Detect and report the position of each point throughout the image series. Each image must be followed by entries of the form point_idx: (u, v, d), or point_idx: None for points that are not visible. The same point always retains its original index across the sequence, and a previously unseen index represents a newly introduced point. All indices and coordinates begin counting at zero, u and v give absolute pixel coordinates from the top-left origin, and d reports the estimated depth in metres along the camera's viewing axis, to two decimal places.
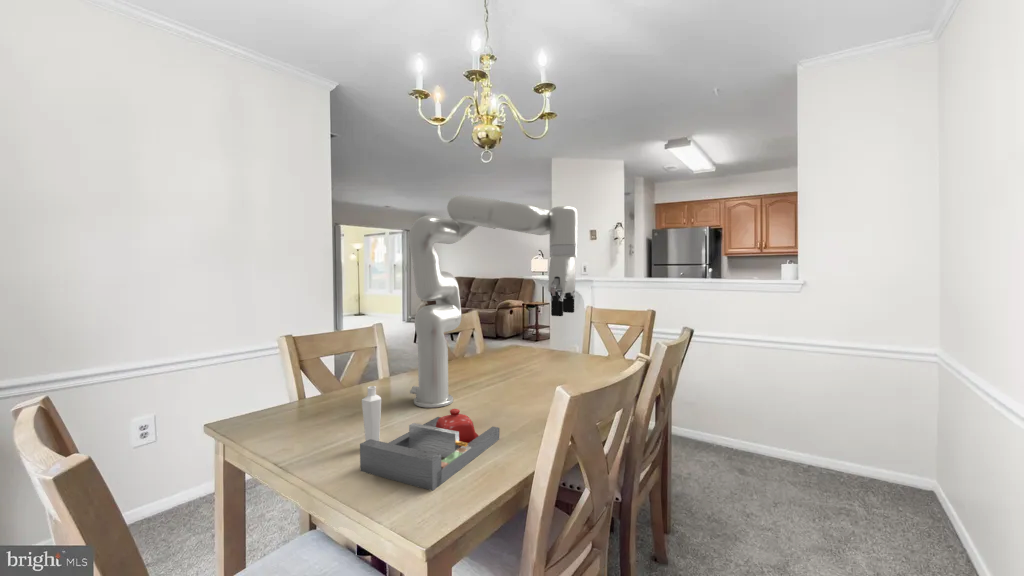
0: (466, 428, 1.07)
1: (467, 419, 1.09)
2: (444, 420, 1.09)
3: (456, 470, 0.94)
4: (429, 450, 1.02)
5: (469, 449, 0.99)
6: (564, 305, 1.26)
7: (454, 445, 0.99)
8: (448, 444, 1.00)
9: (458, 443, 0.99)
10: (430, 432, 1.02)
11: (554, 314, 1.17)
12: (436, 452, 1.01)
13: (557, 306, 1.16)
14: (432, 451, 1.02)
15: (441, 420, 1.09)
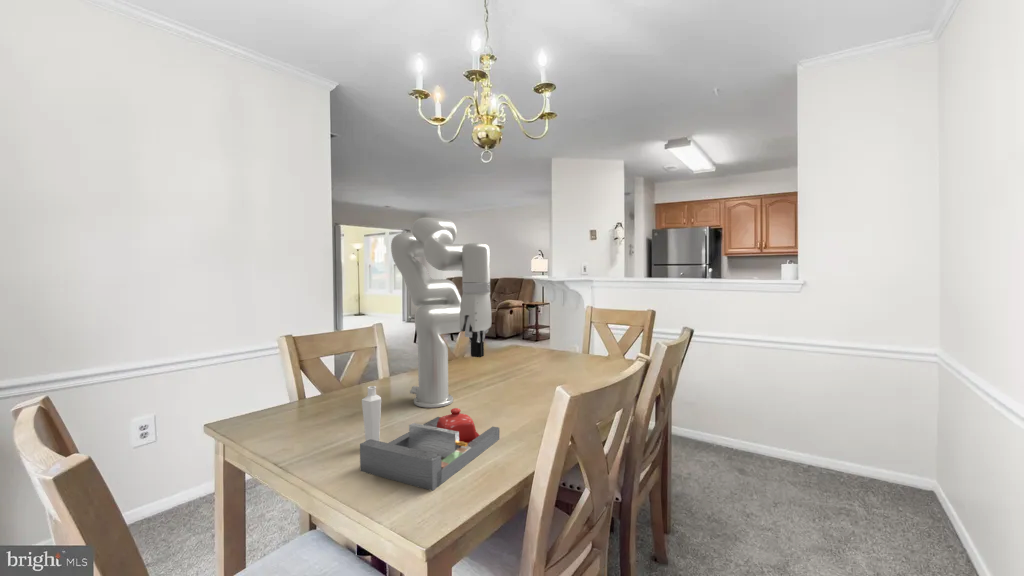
0: (467, 428, 1.08)
1: (468, 418, 1.10)
2: (445, 419, 1.09)
3: (456, 470, 0.94)
4: (429, 450, 1.02)
5: (469, 449, 0.99)
6: None
7: (454, 445, 0.99)
8: (448, 444, 1.00)
9: (458, 443, 0.99)
10: (430, 432, 1.02)
11: (473, 355, 1.19)
12: (436, 452, 1.01)
13: (475, 347, 1.18)
14: (432, 451, 1.02)
15: (442, 419, 1.10)
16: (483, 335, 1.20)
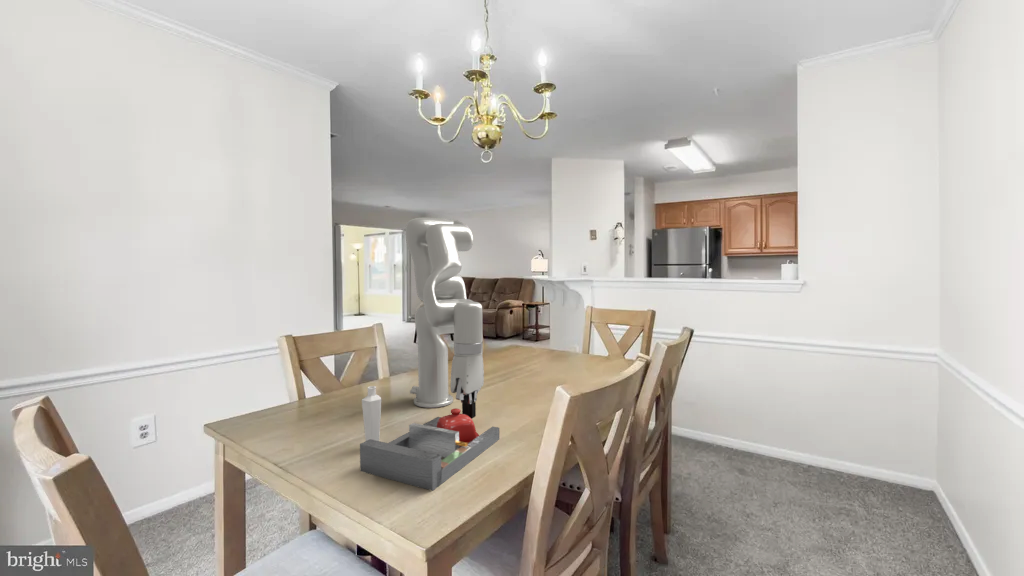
0: (467, 428, 1.08)
1: (468, 419, 1.10)
2: (445, 420, 1.09)
3: (456, 470, 0.94)
4: (429, 450, 1.02)
5: (469, 449, 0.99)
6: None
7: (454, 445, 0.99)
8: (448, 444, 1.00)
9: (458, 443, 0.99)
10: (430, 432, 1.02)
11: None
12: (436, 452, 1.01)
13: (467, 409, 1.15)
14: (432, 451, 1.02)
15: (442, 420, 1.09)
16: (475, 395, 1.17)
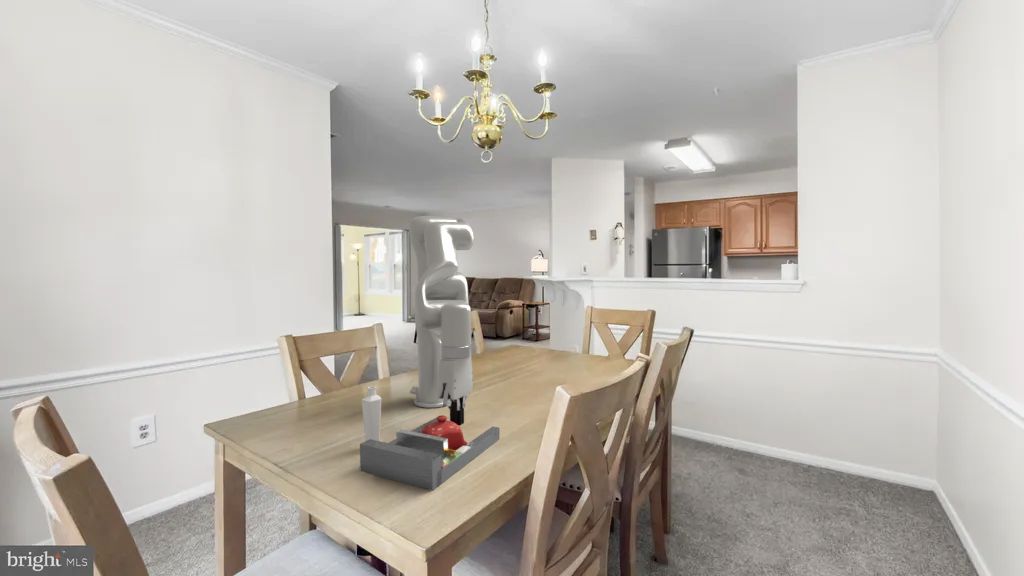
0: (454, 436, 1.03)
1: (455, 426, 1.05)
2: (431, 428, 1.03)
3: (456, 470, 0.94)
4: None
5: (469, 449, 0.99)
6: None
7: (443, 452, 0.95)
8: (436, 452, 0.96)
9: (447, 451, 0.95)
10: (417, 439, 0.98)
11: None
12: None
13: (455, 415, 1.09)
14: None
15: (428, 428, 1.04)
16: (463, 401, 1.11)
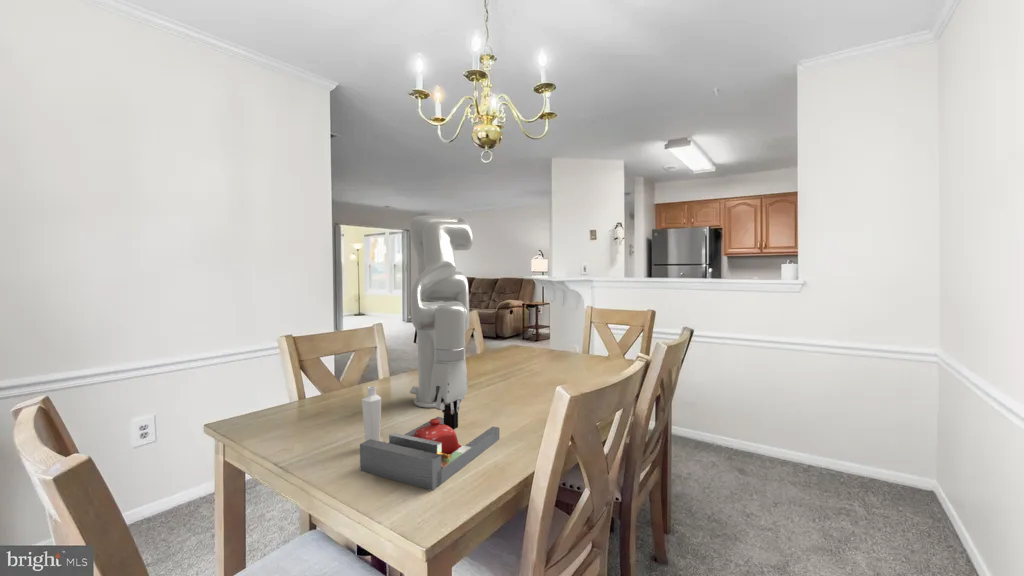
0: (449, 439, 1.01)
1: (449, 429, 1.03)
2: (424, 431, 1.01)
3: (456, 470, 0.94)
4: None
5: (469, 449, 0.99)
6: None
7: None
8: None
9: None
10: (410, 443, 0.96)
11: None
12: None
13: (448, 419, 1.07)
14: None
15: (421, 432, 1.02)
16: (457, 404, 1.09)
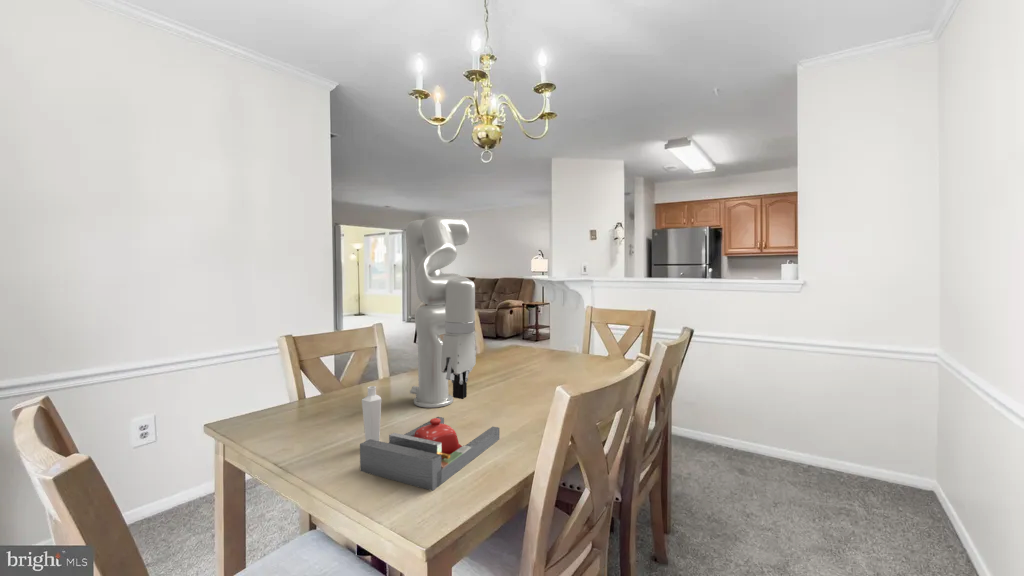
0: (449, 438, 1.01)
1: (449, 428, 1.03)
2: (425, 431, 1.01)
3: (456, 470, 0.94)
4: None
5: (469, 449, 0.99)
6: None
7: None
8: None
9: None
10: (410, 443, 0.96)
11: (455, 396, 1.13)
12: None
13: (458, 389, 1.12)
14: None
15: (421, 431, 1.02)
16: (466, 375, 1.14)
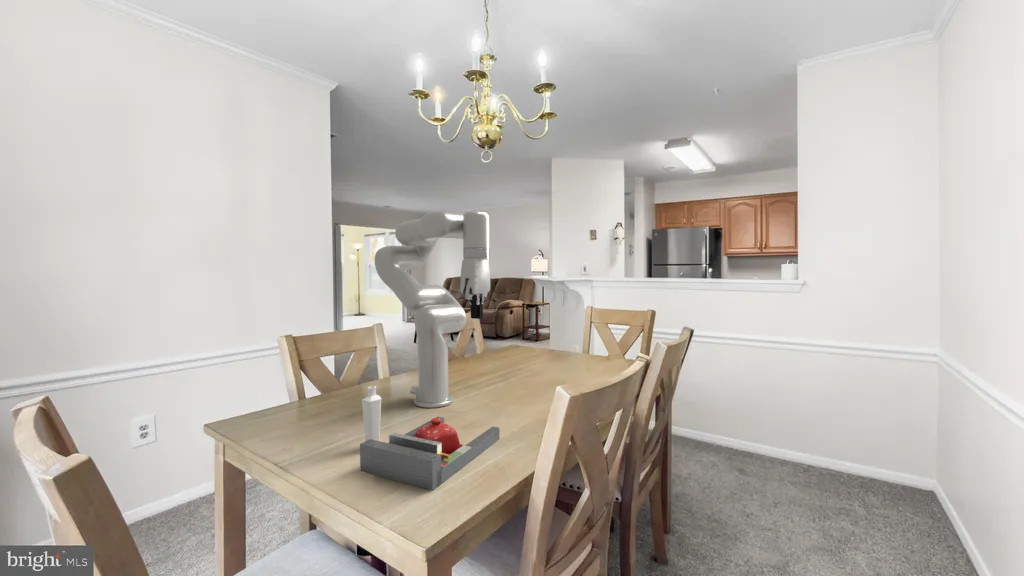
0: (450, 438, 1.02)
1: (450, 428, 1.03)
2: (426, 431, 1.01)
3: (456, 470, 0.94)
4: None
5: (469, 449, 0.99)
6: None
7: None
8: None
9: None
10: (410, 443, 0.96)
11: (473, 317, 1.27)
12: None
13: (475, 309, 1.25)
14: None
15: (422, 431, 1.02)
16: (482, 298, 1.27)
